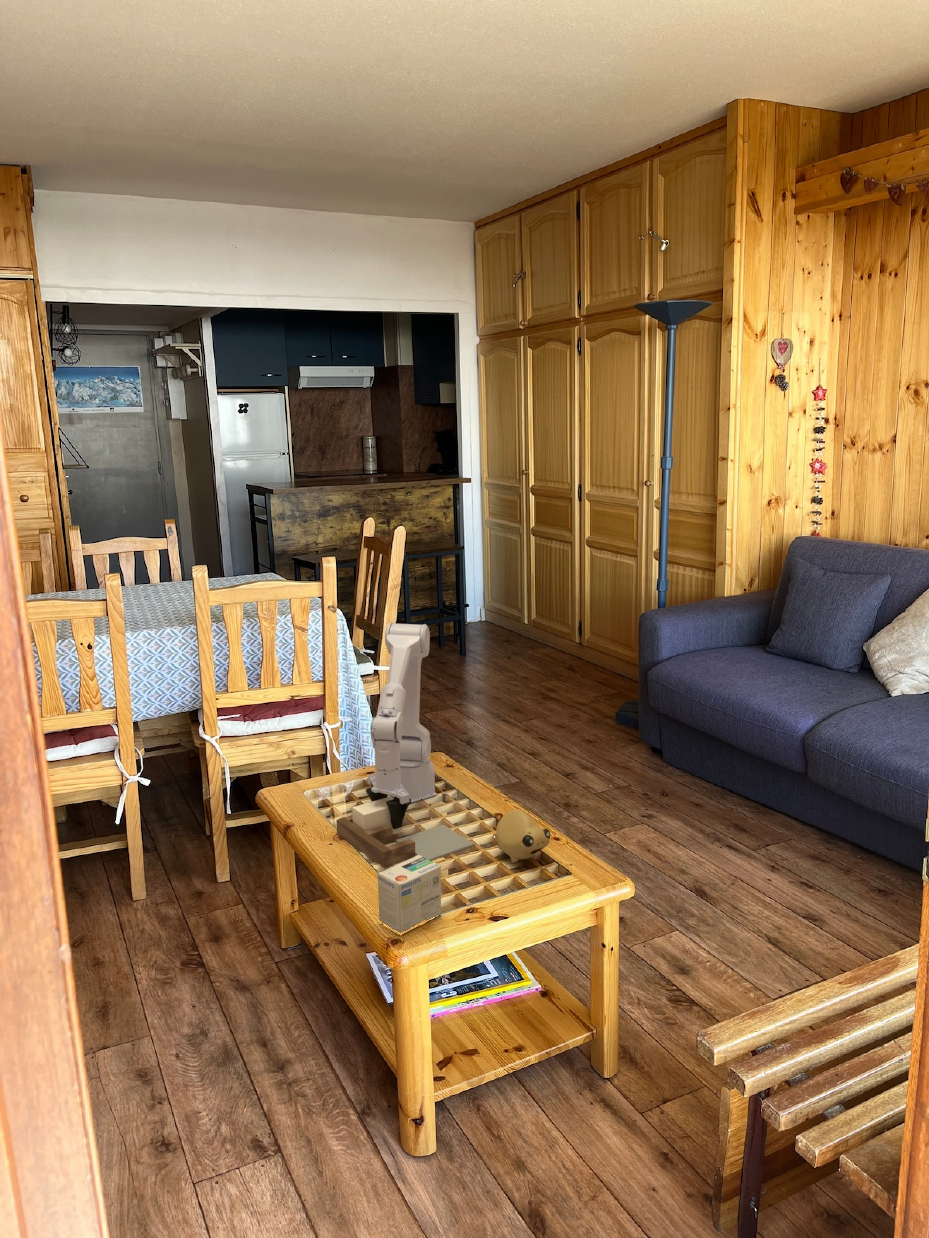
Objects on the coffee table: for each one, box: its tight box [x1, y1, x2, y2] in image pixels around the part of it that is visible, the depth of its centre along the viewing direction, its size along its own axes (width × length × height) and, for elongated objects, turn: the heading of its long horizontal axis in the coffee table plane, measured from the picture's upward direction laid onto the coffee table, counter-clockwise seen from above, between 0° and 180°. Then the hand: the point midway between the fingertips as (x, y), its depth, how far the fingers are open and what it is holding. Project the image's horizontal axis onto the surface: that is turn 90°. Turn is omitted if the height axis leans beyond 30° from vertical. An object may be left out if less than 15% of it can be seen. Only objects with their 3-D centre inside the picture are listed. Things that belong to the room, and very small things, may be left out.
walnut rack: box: [336, 814, 416, 868], centre depth 211 cm, size 8×20×4 cm, turn 37°
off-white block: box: [351, 796, 403, 835], centre depth 216 cm, size 10×5×7 cm, turn 127°
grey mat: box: [395, 824, 476, 862], centre depth 212 cm, size 13×12×1 cm
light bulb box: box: [377, 855, 442, 933], centre depth 180 cm, size 11×7×11 cm, turn 134°
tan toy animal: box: [495, 808, 552, 863], centre depth 204 cm, size 10×12×11 cm
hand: (388, 822), depth 218 cm, fingers open, 6 cm apart
